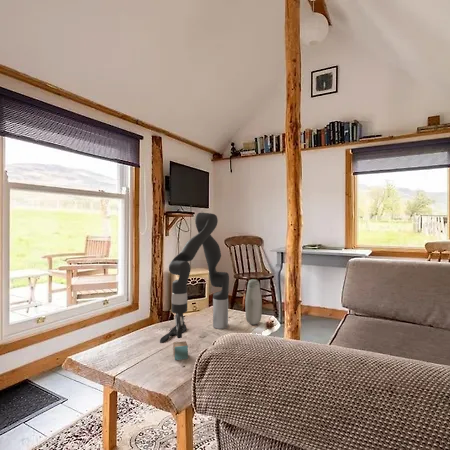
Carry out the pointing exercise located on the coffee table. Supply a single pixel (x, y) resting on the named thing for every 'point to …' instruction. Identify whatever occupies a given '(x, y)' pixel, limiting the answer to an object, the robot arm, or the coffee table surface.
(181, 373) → the coffee table surface
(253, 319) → the grey green rounded cylinder
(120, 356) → the coffee table surface
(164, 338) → the hairbrush
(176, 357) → the two tone block
